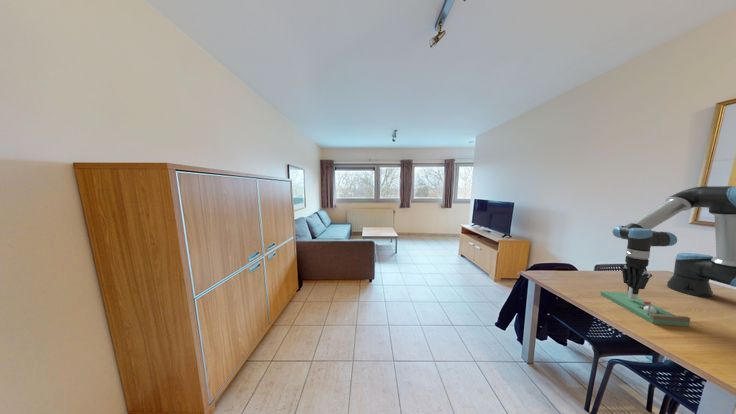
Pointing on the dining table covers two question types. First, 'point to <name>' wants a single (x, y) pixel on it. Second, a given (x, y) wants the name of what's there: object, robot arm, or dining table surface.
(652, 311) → the ball
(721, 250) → the robot arm
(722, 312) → the dining table surface
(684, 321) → the green
